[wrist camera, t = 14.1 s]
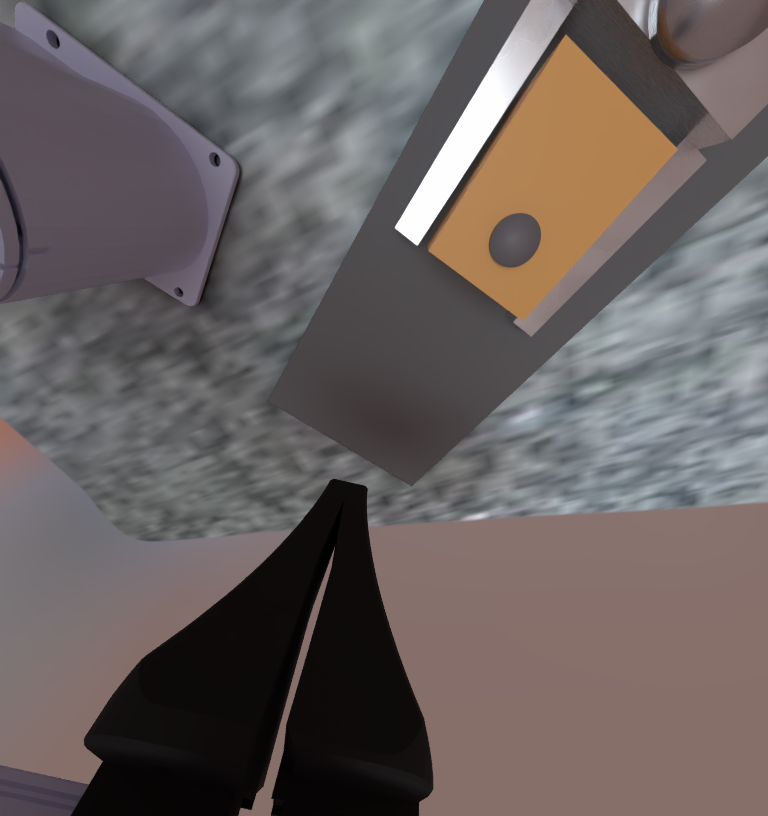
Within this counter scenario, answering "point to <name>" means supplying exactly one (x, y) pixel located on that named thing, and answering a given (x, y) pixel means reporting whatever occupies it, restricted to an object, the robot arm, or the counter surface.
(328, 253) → the counter surface
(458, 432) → the mat
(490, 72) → the sliding latch
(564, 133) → the block
